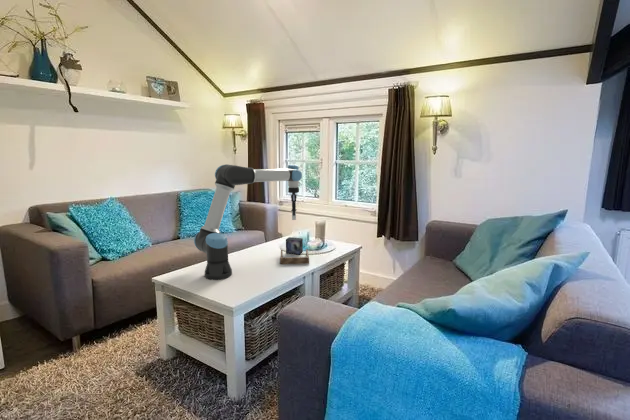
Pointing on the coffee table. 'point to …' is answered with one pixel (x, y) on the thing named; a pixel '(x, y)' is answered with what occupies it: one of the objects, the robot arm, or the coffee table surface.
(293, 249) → the small box
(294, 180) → the robot arm
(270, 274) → the coffee table surface
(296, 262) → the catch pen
